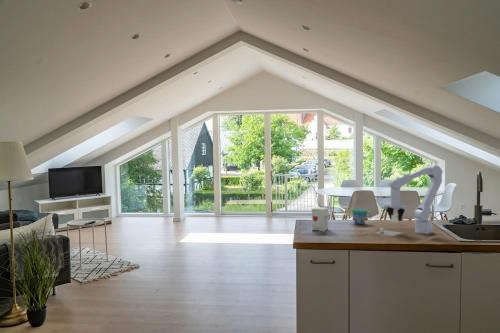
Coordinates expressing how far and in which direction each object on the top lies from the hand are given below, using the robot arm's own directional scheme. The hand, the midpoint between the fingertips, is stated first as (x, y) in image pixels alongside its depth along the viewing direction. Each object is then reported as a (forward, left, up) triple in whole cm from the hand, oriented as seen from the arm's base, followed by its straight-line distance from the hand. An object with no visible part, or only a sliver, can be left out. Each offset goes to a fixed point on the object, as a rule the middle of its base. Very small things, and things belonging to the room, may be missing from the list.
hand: (395, 220), depth 265 cm
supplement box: (+46, +18, -10) cm, 50 cm away
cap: (0, 0, -1) cm, 1 cm away
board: (+3, +3, -9) cm, 10 cm away
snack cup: (+40, -20, -10) cm, 46 cm away
